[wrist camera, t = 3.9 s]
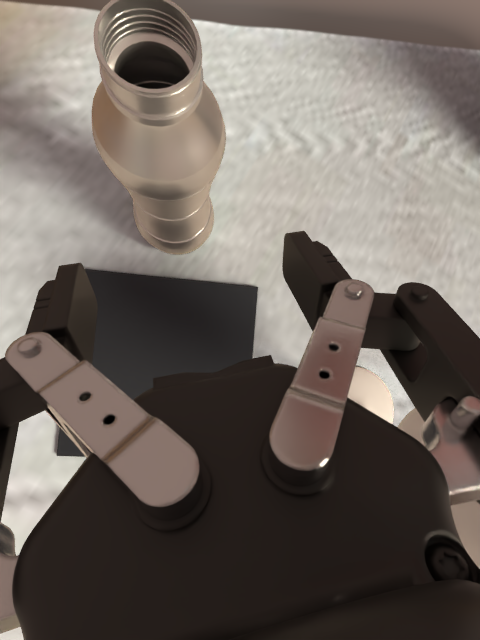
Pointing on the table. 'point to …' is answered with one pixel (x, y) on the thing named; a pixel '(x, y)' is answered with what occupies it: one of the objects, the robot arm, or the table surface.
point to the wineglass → (371, 392)
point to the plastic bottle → (158, 120)
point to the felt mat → (165, 330)
